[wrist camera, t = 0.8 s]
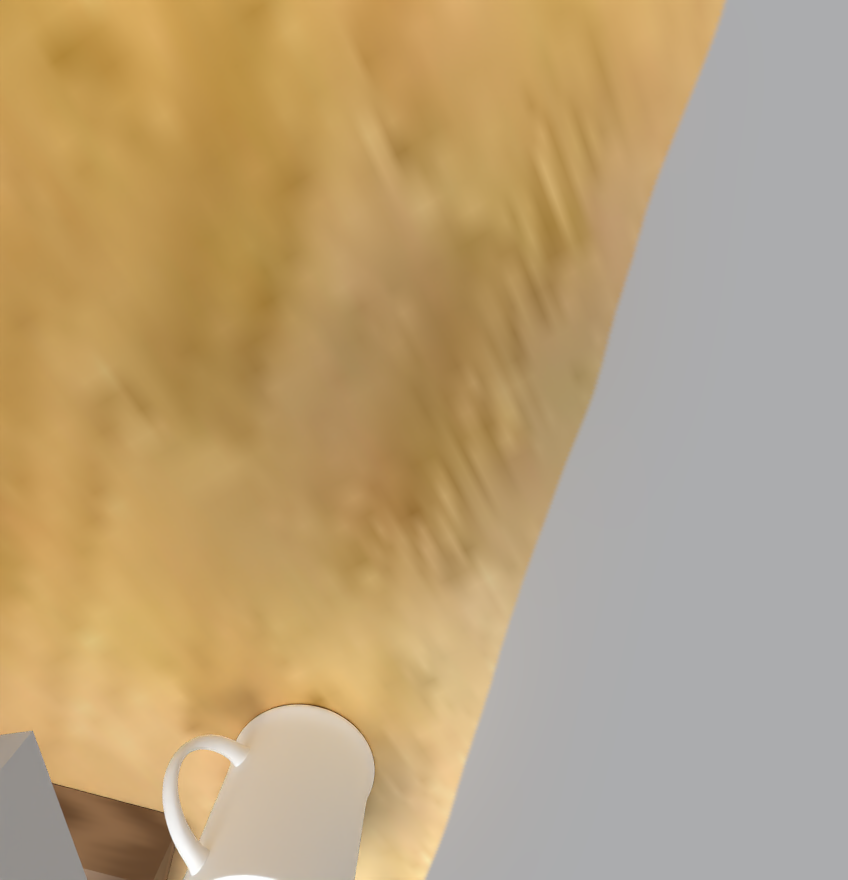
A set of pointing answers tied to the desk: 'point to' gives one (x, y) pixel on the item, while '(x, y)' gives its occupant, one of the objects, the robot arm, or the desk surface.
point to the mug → (279, 800)
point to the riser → (116, 837)
